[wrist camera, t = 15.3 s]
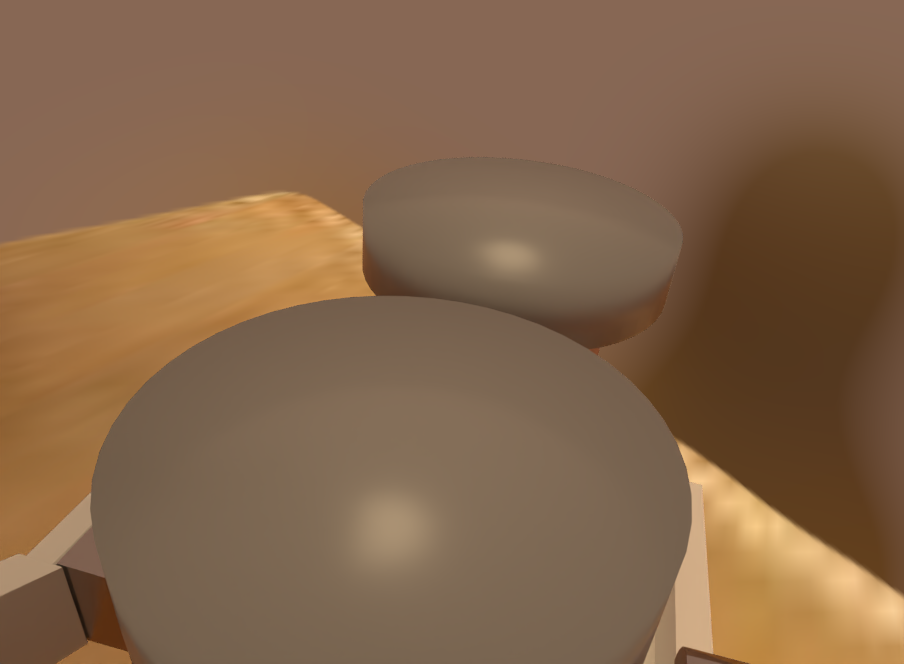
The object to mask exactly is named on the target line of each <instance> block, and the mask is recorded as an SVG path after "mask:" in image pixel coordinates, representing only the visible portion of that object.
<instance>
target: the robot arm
mask: <svg viewBox="0 0 904 664" xmlns="http://www.w3.org/2000/svg"><path fill="white" fill-rule="evenodd" d="M90 503H91V492H90V493H89V494H88V495H87V496H86V497H85V498H84V499H83V500H82V501H81V502H80V503H79V504H78V505H77V506H76V507H75V508H74V509H73V510H72V511H71V512H70V513H69V514H68V515H67V516H66V517H65V518H64V519H63V520H62V521H61V522H60V523H59V524H58V525H57V526H56V527H55V528H54V529H53V530H52V531H51V532H50V533H49V534H48V535H47V536H46V537H45V538H44V539H43V540H42V541H41V542H40V543H39V544H38V545H36V546H35V547H34V548H33V549H32V550H31V551H30V552H29V553H28V554H27V555H22V554H19V553H18V554H16V555H14V556H11V557H9V558H7V559H4V560H2V561H0V664H56V663H57V662H59V661H61V660H62V659H64V658H65V657H67V656H68V655H70V654H72V653H73V652H75V651H76V650H78V649H79V648H81V647H82V646H84V645H86V644H87V643H88V641H87V640H90V641H93V642H97V643H100V644H103V645H107V646H110V647H114V648H117V649H121V650H124V651H127V652H128V650H127V647H126V644H125V641H124V638H123V636H122V633H121V629H120V626H119V623H118V619H117V616H116V613H115V609H114V606H113V602H112V599H111V596H110V592H109V589H108V585H107V582H106V579H105V575H104V572H103V568H102V565H101V562H100V558H99V555H98V552H97V548H96V545H95V541H94V534H93V527H92V520H91V513H90ZM674 664H749V663H745V662H741V661H737V660H734V659H730V658H726V657H722V656H718V655H715V654H711V653H707V652H703V651H699V650H696V649H692V648H688V647H684V646H683V647H682V648H680V649H679V651H678V653H677V655H676V657H675V660H674Z"/></svg>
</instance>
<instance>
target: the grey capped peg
mask: <svg viewBox="0 0 904 664" xmlns="http://www.w3.org/2000/svg"><path fill="white" fill-rule="evenodd" d="M682 242H683V233H682V230H681V227H680V225H679V224H678V222H677V220H676V219H675V218H674V216H673V215H672V214H671V213H670V212H669V211H668V210H667V209H666V208H664V207H663V206H662V205H661V204H659V203H658V202H656V201H655V200H653V199H652V198H650V197H649V196H647V195H645V194H643V193H641V192H639V191H637V190H636V189H634V188H631V187H629V186H627V185H625V184H622V183H620V182H617V181H614V180H612V179H609V178H606V177H603V176H600V175H596V174H593V173H590V172H587V171H583V170H579V169H575V168H570V167H566V166H561V165H556V164H550V163H544V162H537V161H530V160H522V159H511V158H510V159H509V158H493V157H466V158H451V159H440V160H433V161H428V162H422V163H417V164H413V165H409V166H406V167H403V168H400V169H397V170H395V171H392V172H390V173H388V174H386V175H384V176H382V177H381V178H379V179H378V180H376V181H375V182H374V183H373V184H372V185H371V186H370V187H369V188H368V190H367V191H366V193H365V196H364V199H363V273H364V276H365V280H366V281H367V283H368V285H369V287H370V288H371V290H372V291H373V292H374V293H375V295H376V296H411V297H424V298H435V299H442V300H449V301H456V302H463V303H467V304H472V305H477V306H482V307H486V308H490V309H494V310H497V311H501V312H504V313H508V314H511V315H515V316H517V317H520V318H523V319H526V320H528V321H531V322H534V323H537V324H539V325H542V326H544V327H546V328H548V329H550V330H553V331H555V332H557V333H559V334H562V335H564V336H566V337H567V338H569V339H571V340H573V341H575V342H576V343H578V344H580V345H582V346H584V347H585V348H587V349H589V350H590V351H592V352H593V353H595V354H596V355H598V352H599V348H600V347H604V346H608V345H612V344H615V343H619V342H621V341H624V340H627V339H629V338H632V337H634V336H636V335H638V334H639V333H641V332H643V331H644V330H646V329H647V328H649V327H650V326H651V325H652V324H653V323H654V322H655V321H656V320H657V319H658V317H659V316H660V315H661V313H662V311H663V308H664V306H665V303H666V299H667V296H668V292H669V289H670V285H671V282H672V278H673V274H674V271H675V267H676V264H677V260H678V257H679V253H680V249H681V246H682Z"/></svg>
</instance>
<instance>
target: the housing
mask: <svg viewBox="0 0 904 664" xmlns="http://www.w3.org/2000/svg"><path fill="white" fill-rule="evenodd" d="M689 484H690V489H691V494H692V525H691V530H690V535H689V541H688V546H687V552H686V554H685V557H684V560H683V562H682V565H681V567H680V570H679V573H678V575H677V578H676V580H675V583H674V586H673V588H672V591H671V594H670V596H669V599H668V601H667V604H666V607H665V609H664V612H663V614H662V617H661V620H660V622H659V625H658V627H657V630H656V633H655V635H654V638H653V640H652V643H651V645H650V648H649V650H648V653H647V656H646V658H645V661H644V663H643V664H674V660H675V657H676V655H677V653H678V651H679V649H680V648H682V647H683V646H684V647H688V648H692V649H696V650H699V651H703V652H707V653H711V654H713V642H712V627H711V612H710V597H709V581H708V566H707V551H706V536H705V521H704V506H703V491H702V485H700V484H696V483H692V482H689Z"/></svg>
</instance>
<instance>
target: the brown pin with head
mask: <svg viewBox="0 0 904 664" xmlns="http://www.w3.org/2000/svg"><path fill="white" fill-rule="evenodd" d="M90 513H91V520H92V527H93V534H94V541H95V545H96V548H97V552H98V555H99V558H100V562H101V565H102V568H103V572H104V575H105V579H106V582H107V585H108V589H109V592H110V596H111V599H112V602H113V606H114V609H115V613H116V616H117V619H118V623H119V626H120V629H121V633H122V636H123V638H124V641H125V644H126V647H127V650H128V652H129V655H130V658H131V661H132V664H643V663H644V661H645V658H646V656H647V653H648V650H649V648H650V645H651V643H652V640H653V638H654V635H655V633H656V630H657V627H658V625H659V622H660V620H661V617H662V614H663V612H664V609H665V607H666V604H667V601H668V599H669V596H670V594H671V591H672V588H673V586H674V583H675V580H676V578H677V575H678V573H679V570H680V567H681V565H682V562H683V560H684V557H685V554H686V552H687V546H688V541H689V535H690V530H691V525H692V494H691V489H690V484H689V479H688V474H687V469H686V466H685V463H684V460H683V458H682V455H681V453H680V450H679V447H678V445H677V442H676V440H675V439H674V437H673V435H672V433H671V432H670V430H669V428H668V426H667V425H666V423H665V421H664V419H663V418H662V417H661V416H660V414H659V413H658V412H657V410H656V409H655V408H654V407H653V405H652V404H651V403H650V401H649V400H648V399H647V398H646V397H645V396H644V394H643V393H641V391H639V389H638V388H637V387H636V386H635V385H634V384H633V383H632V382H631V381H630V380H629V379H628V378H626V377H625V376H624V375H623V374H621V373H620V372H619V371H618V370H617V369H615V368H614V367H613V366H612V365H610V364H609V363H608V362H607V361H605V360H604V359H602V358H601V357H599V356H598V355H596V354H595V353H593V352H592V351H590V350H589V349H587V348H585V347H584V346H582V345H580V344H578V343H576V342H575V341H573V340H571V339H569V338H567V337H566V336H564V335H562V334H559V333H557V332H555V331H553V330H550V329H548V328H546V327H544V326H542V325H539V324H537V323H534V322H531V321H528V320H526V319H523V318H520V317H517V316H515V315H511V314H508V313H504V312H501V311H497V310H494V309H490V308H486V307H482V306H477V305H472V304H467V303H463V302H456V301H449V300H442V299H435V298H424V297H411V296H366V297H350V298H341V299H332V300H324V301H319V302H313V303H308V304H303V305H297V306H293V307H290V308H286V309H282V310H278V311H274V312H270V313H267V314H264V315H261V316H259V317H256V318H253V319H250V320H247V321H244V322H242V323H239V324H237V325H235V326H232V327H230V328H228V329H225V330H223V331H221V332H219V333H217V334H215V335H213V336H211V337H209V338H207V339H206V340H204V341H202V342H200V343H198V344H196V345H195V346H193V347H191V348H190V349H188V350H187V351H185V352H184V353H182V354H181V355H179V356H178V357H176V358H175V359H174V360H172V361H171V362H169V363H168V364H167V365H166V366H164V367H163V368H162V369H161V370H160V371H159V372H157V373H156V374H155V375H154V376H153V377H151V378H150V379H149V380H148V381H147V382H146V383H145V384H144V385H143V386H142V387H141V389H140V390H139V391H138V392H137V393H136V394H135V395H134V396H133V397H132V398H131V399H130V401H129V402H128V403H127V404H126V406H125V407H124V409H123V410H122V412H121V413H120V415H119V416H118V418H117V419H116V420H115V422H114V423H113V425H112V427H111V429H110V431H109V433H108V435H107V437H106V439H105V441H104V443H103V446H102V448H101V450H100V452H99V456H98V460H97V463H96V467H95V471H94V474H93V478H92V489H91V503H90Z"/></svg>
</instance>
